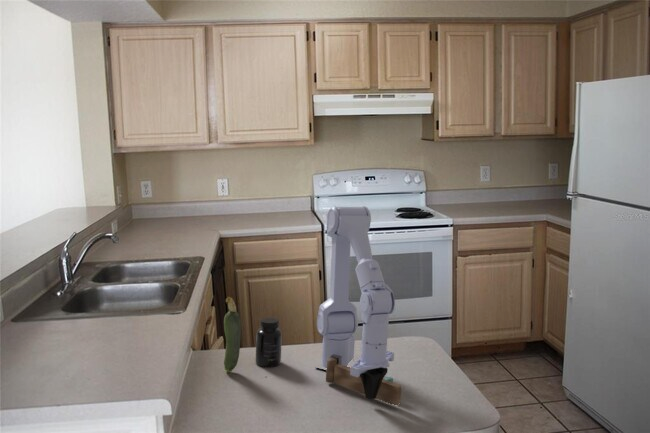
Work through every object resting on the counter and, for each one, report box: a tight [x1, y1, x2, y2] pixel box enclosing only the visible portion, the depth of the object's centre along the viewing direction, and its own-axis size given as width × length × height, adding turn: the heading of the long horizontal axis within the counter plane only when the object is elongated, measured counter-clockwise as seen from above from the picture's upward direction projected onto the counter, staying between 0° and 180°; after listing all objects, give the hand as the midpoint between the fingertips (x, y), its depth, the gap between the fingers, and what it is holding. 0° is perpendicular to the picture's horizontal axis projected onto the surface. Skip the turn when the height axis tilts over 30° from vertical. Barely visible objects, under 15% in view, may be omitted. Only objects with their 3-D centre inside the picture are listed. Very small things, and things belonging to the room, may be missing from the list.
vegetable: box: [223, 296, 242, 373], centre depth 148 cm, size 4×4×20 cm
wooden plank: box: [325, 358, 402, 406], centre depth 140 cm, size 21×2×6 cm, turn 52°
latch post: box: [384, 376, 394, 383], centre depth 139 cm, size 2×2×5 cm
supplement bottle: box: [254, 317, 283, 369], centre depth 156 cm, size 7×7×12 cm
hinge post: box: [330, 354, 342, 365], centre depth 147 cm, size 2×2×6 cm
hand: (370, 397), depth 134 cm, fingers closed
